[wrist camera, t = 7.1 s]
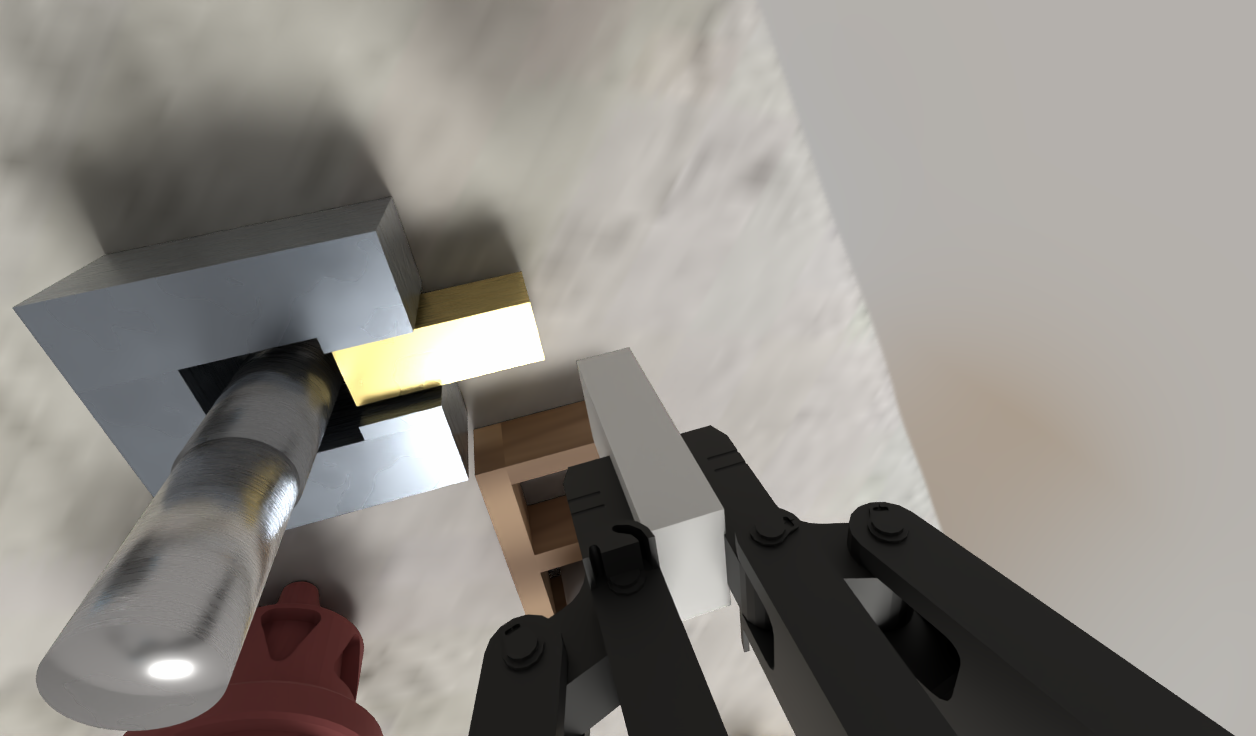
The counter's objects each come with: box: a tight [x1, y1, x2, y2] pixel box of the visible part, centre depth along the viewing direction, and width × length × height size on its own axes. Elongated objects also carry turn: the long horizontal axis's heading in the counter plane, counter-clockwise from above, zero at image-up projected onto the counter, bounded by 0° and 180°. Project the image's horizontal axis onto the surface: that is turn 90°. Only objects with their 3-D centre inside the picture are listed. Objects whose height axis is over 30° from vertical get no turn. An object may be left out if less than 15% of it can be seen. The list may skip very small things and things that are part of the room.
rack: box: [473, 400, 600, 618], centre depth 28 cm, size 12×7×8 cm, turn 8°
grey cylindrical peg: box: [36, 338, 344, 731], centre depth 18 cm, size 3×3×15 cm
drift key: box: [332, 271, 544, 406], centre depth 23 cm, size 2×7×4 cm, turn 98°
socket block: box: [13, 197, 469, 530], centre depth 22 cm, size 10×10×5 cm
